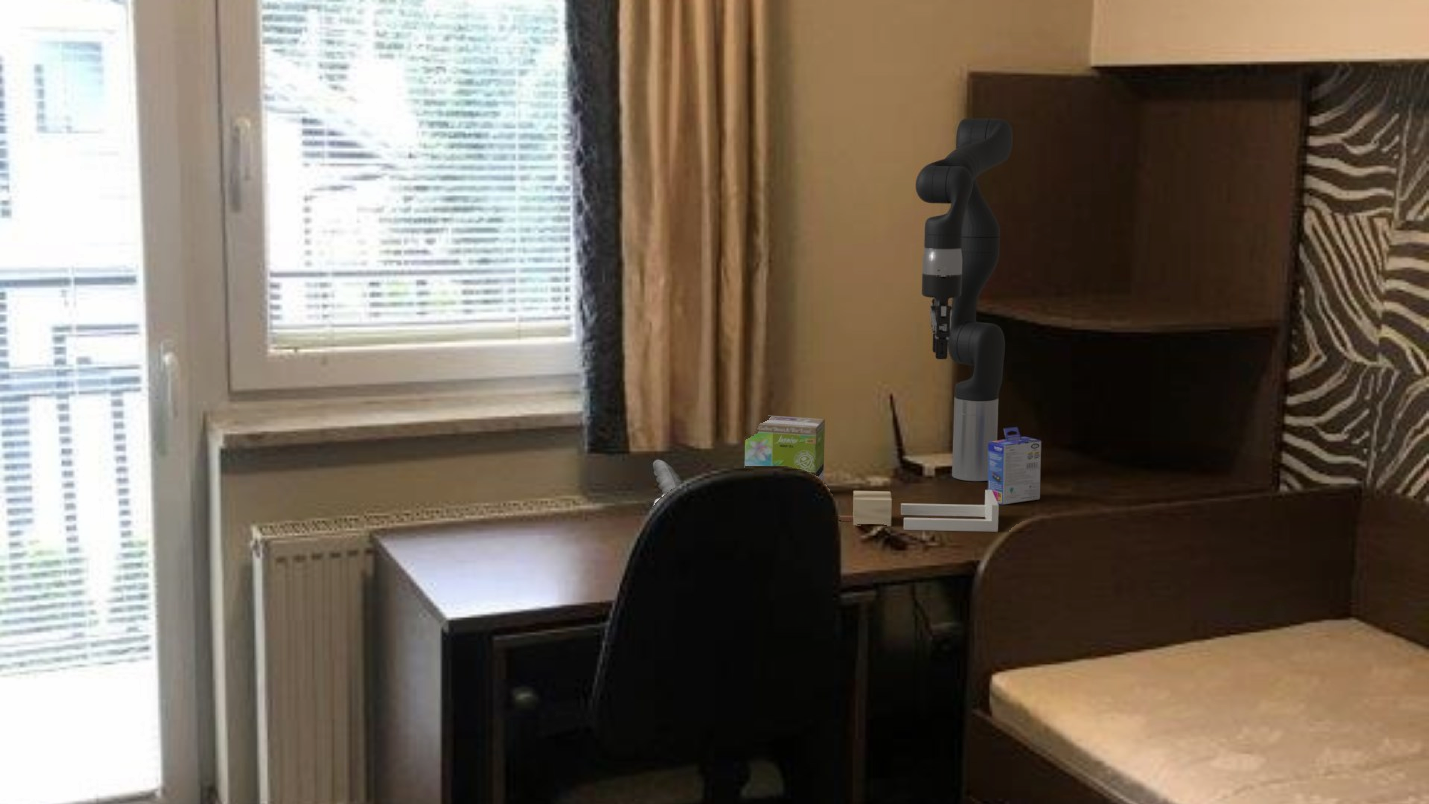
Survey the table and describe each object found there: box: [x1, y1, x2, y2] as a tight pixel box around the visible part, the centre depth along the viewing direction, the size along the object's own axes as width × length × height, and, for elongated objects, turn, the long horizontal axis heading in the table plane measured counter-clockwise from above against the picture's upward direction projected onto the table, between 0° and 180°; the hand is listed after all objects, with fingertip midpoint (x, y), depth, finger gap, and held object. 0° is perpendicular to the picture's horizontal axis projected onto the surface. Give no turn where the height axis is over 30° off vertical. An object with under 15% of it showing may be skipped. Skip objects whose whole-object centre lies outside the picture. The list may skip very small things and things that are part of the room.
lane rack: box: [900, 489, 1000, 533], centre depth 291 cm, size 12×17×5 cm
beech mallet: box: [839, 490, 893, 527], centre depth 292 cm, size 7×20×6 cm, turn 86°
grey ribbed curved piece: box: [652, 459, 684, 507], centre depth 295 cm, size 9×18×10 cm, turn 22°
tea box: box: [744, 415, 826, 481], centre depth 316 cm, size 15×10×15 cm, turn 76°
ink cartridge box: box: [987, 426, 1042, 505], centre depth 308 cm, size 10×6×14 cm, turn 120°
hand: (939, 355), depth 297 cm, fingers open, 8 cm apart
